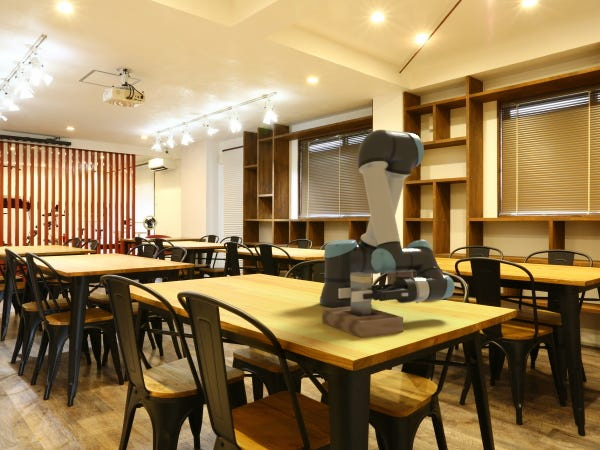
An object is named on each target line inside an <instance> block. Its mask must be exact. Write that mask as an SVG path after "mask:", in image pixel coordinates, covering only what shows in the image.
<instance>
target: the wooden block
mask: <svg viewBox="0 0 600 450" xmlns="http://www.w3.org/2000/svg"><path fill="white" fill-rule="evenodd" d="M407 277H408V278H409V277H414V271H412V272H395V273H386V278H387V281H386V284H392V285H393V284H394V282H395V280H396V279H397V278H407Z"/></svg>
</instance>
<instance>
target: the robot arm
mask: <svg viewBox="0 0 600 450" xmlns="http://www.w3.org/2000/svg"><path fill="white" fill-rule="evenodd" d="M424 149H425V148H424V144H423V142H422V139H421V138H420V137H419V136H418V135H416V134H415V133H410V132H407V131H397V130H396V131H395V130H386V129H376V130H373V131H372V132H370V133H368V134H367V135H365V137H364V138H363V140H362V141H361V143H360V144H359V148H358V152H357V159H356V160H357V168H358V172H359V173H361V174H362V177H363V181H364V187H365V192H366V198H367V203H368V207H369V213H370V214H369V215H370V217H369V220H368V224H367V228H366V232H365V233H363V234H362V235H361V236H360V239H359V242H357V240H355V239H340V240H333V241H330V242H327V243H326V244H325V246H324V255H323V257H324V285H323V287H322V290H321V294H320V297H319V304H320V305H321V306H323V307H328V308H340V307H350V306H351V302H359V301H369V300H371V301H379V302H385V301H393V300H394V301H395V300H396V301H397V302H398V303H401V304H407V303H413V302H415V304H419V303H420V302H425V301H439V300H444V298H445V299H449V298H450V297H451V296H452V295H453V294H454V291H455V282H454V280H453V278H451V277H450V276H449V275H447V274H444V275H442V273H441V270H440V267H439V264H438V262H437V259H436V256H435V254H434V250H433V249H432V247H431V245H430V243H429V242H428V241H427V240H425V239H419V240H414V241H412V242H411V243H409V244H407V246H406V247H402V244H401V239H400V235H399V230H398V225H397V218H396V213H397V209H398V206H399V202H400V199H401V195H402V191H403V189H404V185H405V181H406V178H407V177H409V176H411V175H412V172H413V170H414V169H413V168H416V167H418V166H419V165H420V164H422V161H423V160H424V154H425V150H424ZM412 271H413V272H414V273H415V276H413V277H409V278H408V277H407V278H403V277H397V278H396V280H395V282H394V284H393V285H392V284H387V283H386V284H381V283H380V284H378V283H377V284H371V290H368V291H355V292H351V281H350V275H351V273H353V272H362V273H367V274H371V275H372V274H373V275H377V274H387V273H395V272H396V273H399V272H412Z"/></svg>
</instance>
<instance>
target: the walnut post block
mask: <svg viewBox="0 0 600 450" xmlns="http://www.w3.org/2000/svg"><path fill="white" fill-rule="evenodd" d="M321 312H322V316H321V317H322V318H321V319H322V324H325V325H327V326H331V327H334V328H335V329H338V330H341V331H343V332H346V333H348V334H351V335H354V336H356V337H358V338H366V337H368V338H369V337H374V336H382V335H388V334H389V335H390V334H397V333H403V332H404V317H403V316H400V315H397V314H394V313H390V312H387V311H383V310H379V309H376V308H372V307H371V316H362V317H358V316H355V315H352V314H351V306H350V307H329V308H323V309H322V311H321Z"/></svg>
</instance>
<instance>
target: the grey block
mask: <svg viewBox="0 0 600 450" xmlns="http://www.w3.org/2000/svg"><path fill="white" fill-rule="evenodd" d="M372 278H373V277H372V274H367V273H362V272H353V273H351V275H350V281H351V292H355V291H368V290H371V285H372V280H373V279H372ZM371 308H372V300H369V301H359V302H351V314H352V315H355V316H358V317H362V316H371Z"/></svg>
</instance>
